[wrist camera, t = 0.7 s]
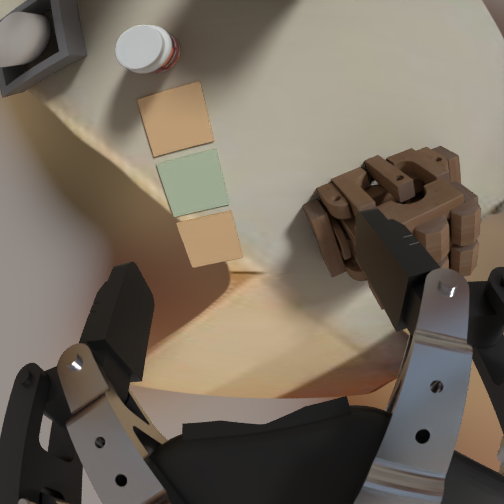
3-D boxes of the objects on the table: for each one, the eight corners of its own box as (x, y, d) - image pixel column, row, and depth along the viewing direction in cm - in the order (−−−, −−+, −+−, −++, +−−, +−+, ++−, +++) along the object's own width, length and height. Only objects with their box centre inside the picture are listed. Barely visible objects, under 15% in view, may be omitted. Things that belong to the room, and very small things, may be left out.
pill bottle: (181, 71, 26) (166, 70, 19) (137, 75, 26) (110, 78, 19) (181, 30, 23) (167, 16, 16) (137, 35, 23) (110, 26, 16)
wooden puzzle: (437, 131, 32) (541, 190, 16) (447, 216, 40) (519, 291, 24) (295, 189, 35) (350, 293, 20) (328, 271, 43) (372, 376, 28)
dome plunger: (15, 32, 17) (-15, 32, 12) (54, 6, 17) (26, 0, 12) (23, 72, 21) (-8, 78, 16) (62, 48, 20) (32, 48, 15)
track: (137, 99, 27) (137, 99, 27) (199, 81, 27) (199, 81, 27) (192, 266, 40) (192, 267, 40) (242, 256, 40) (242, 257, 40)
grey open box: (11, 28, 17) (-10, 28, 14) (74, -12, 17) (56, -19, 13) (23, 91, 23) (2, 97, 20) (87, 55, 23) (68, 55, 19)
